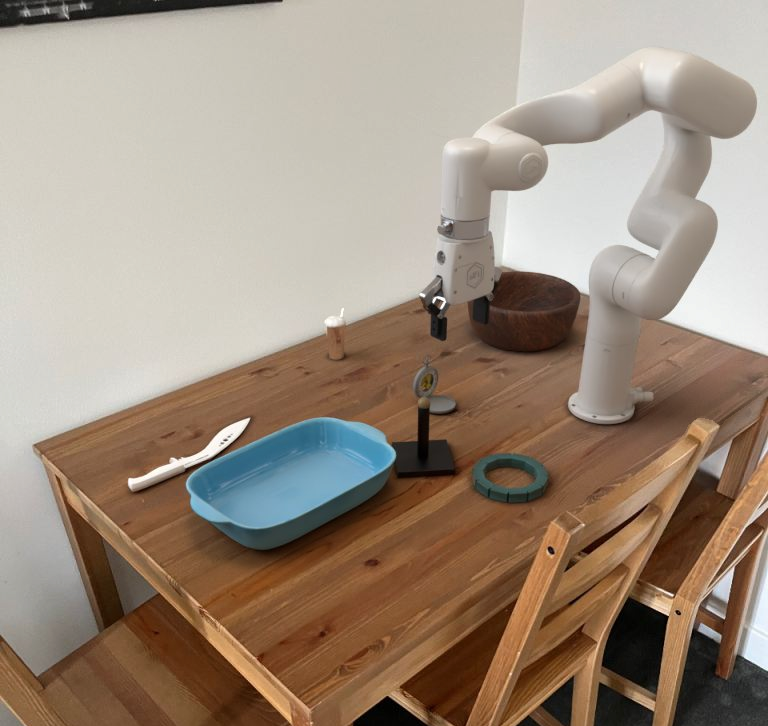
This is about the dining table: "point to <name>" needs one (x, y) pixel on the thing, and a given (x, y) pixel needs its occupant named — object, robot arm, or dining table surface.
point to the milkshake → (335, 336)
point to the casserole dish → (291, 480)
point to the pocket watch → (431, 389)
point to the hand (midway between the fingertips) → (459, 329)
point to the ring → (510, 493)
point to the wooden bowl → (528, 312)
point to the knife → (189, 458)
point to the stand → (423, 450)
